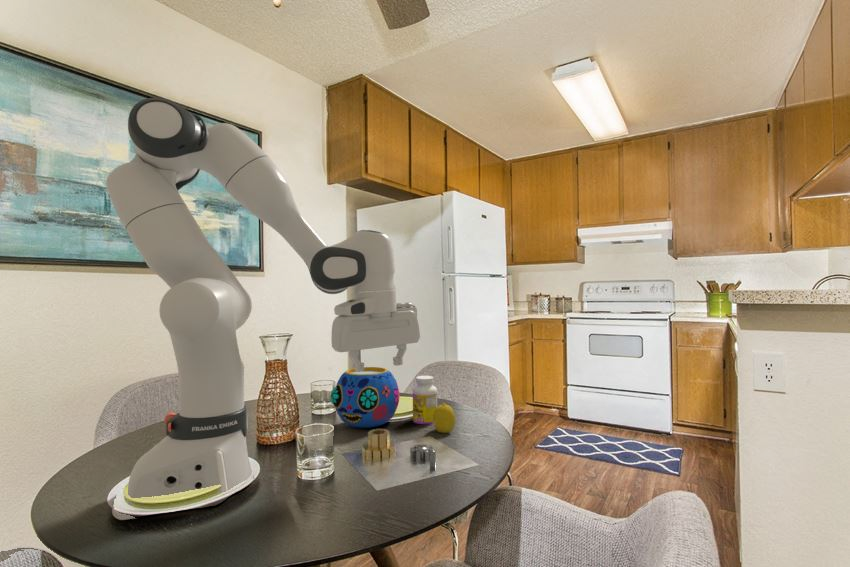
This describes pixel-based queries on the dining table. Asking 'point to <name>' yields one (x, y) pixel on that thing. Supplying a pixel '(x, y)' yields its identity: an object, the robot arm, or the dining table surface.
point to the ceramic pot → (366, 397)
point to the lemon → (444, 418)
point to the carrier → (409, 463)
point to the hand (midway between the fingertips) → (379, 368)
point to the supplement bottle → (424, 400)
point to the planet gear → (378, 445)
